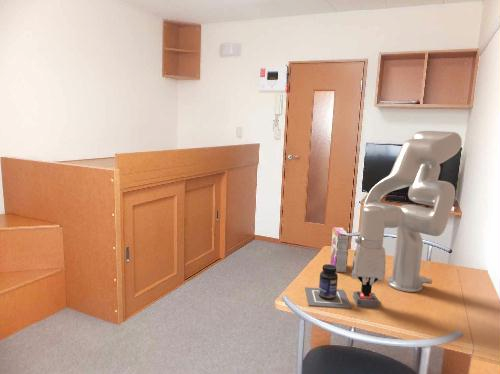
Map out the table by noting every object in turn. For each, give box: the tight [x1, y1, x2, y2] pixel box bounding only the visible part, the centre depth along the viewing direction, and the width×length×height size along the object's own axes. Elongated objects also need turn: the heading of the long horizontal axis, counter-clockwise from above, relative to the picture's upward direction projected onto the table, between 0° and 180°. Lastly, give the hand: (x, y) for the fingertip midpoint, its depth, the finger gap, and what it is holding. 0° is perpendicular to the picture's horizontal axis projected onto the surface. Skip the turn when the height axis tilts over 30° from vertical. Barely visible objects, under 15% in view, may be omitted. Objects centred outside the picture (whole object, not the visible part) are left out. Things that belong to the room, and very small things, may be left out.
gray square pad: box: [304, 286, 352, 310], centre depth 133 cm, size 14×14×1 cm
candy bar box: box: [330, 226, 350, 273], centre depth 161 cm, size 11×5×16 cm, turn 179°
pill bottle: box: [318, 263, 339, 300], centre depth 132 cm, size 6×6×11 cm
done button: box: [360, 292, 372, 300], centre depth 131 cm, size 4×4×2 cm
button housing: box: [352, 290, 380, 308], centre depth 131 cm, size 7×7×2 cm
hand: (365, 294), depth 130 cm, fingers closed
